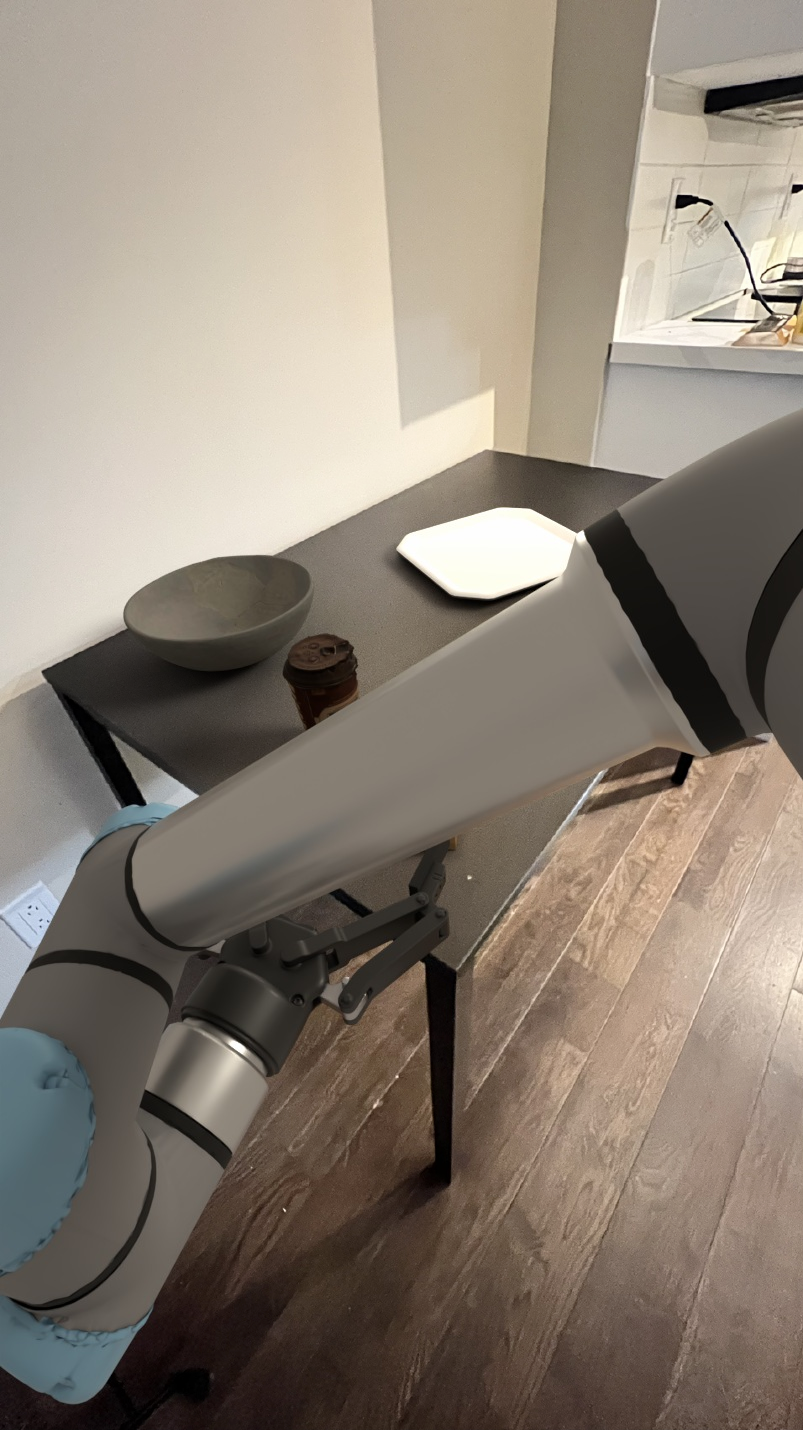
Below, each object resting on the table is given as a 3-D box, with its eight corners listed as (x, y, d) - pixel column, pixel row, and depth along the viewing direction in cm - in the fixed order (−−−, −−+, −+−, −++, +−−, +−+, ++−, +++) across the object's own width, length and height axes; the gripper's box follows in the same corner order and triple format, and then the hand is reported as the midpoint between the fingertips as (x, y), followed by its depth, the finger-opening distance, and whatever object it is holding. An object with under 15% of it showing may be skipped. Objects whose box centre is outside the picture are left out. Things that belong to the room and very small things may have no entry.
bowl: (110, 671, 91) (82, 611, 85) (239, 591, 107) (224, 536, 101) (234, 727, 79) (212, 662, 72) (360, 627, 95) (351, 567, 88)
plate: (618, 566, 102) (620, 554, 101) (466, 618, 94) (466, 605, 93) (517, 512, 123) (518, 501, 122) (385, 550, 115) (384, 539, 113)
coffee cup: (385, 730, 76) (373, 640, 67) (345, 774, 71) (327, 682, 62) (329, 710, 80) (311, 623, 71) (287, 750, 75) (262, 660, 66)
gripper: (103, 1004, 47) (263, 804, 61) (406, 1160, 37) (510, 882, 52) (60, 951, 42) (244, 748, 56) (395, 1115, 33) (513, 822, 47)
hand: (372, 811), depth 54 cm, fingers open, 13 cm apart
